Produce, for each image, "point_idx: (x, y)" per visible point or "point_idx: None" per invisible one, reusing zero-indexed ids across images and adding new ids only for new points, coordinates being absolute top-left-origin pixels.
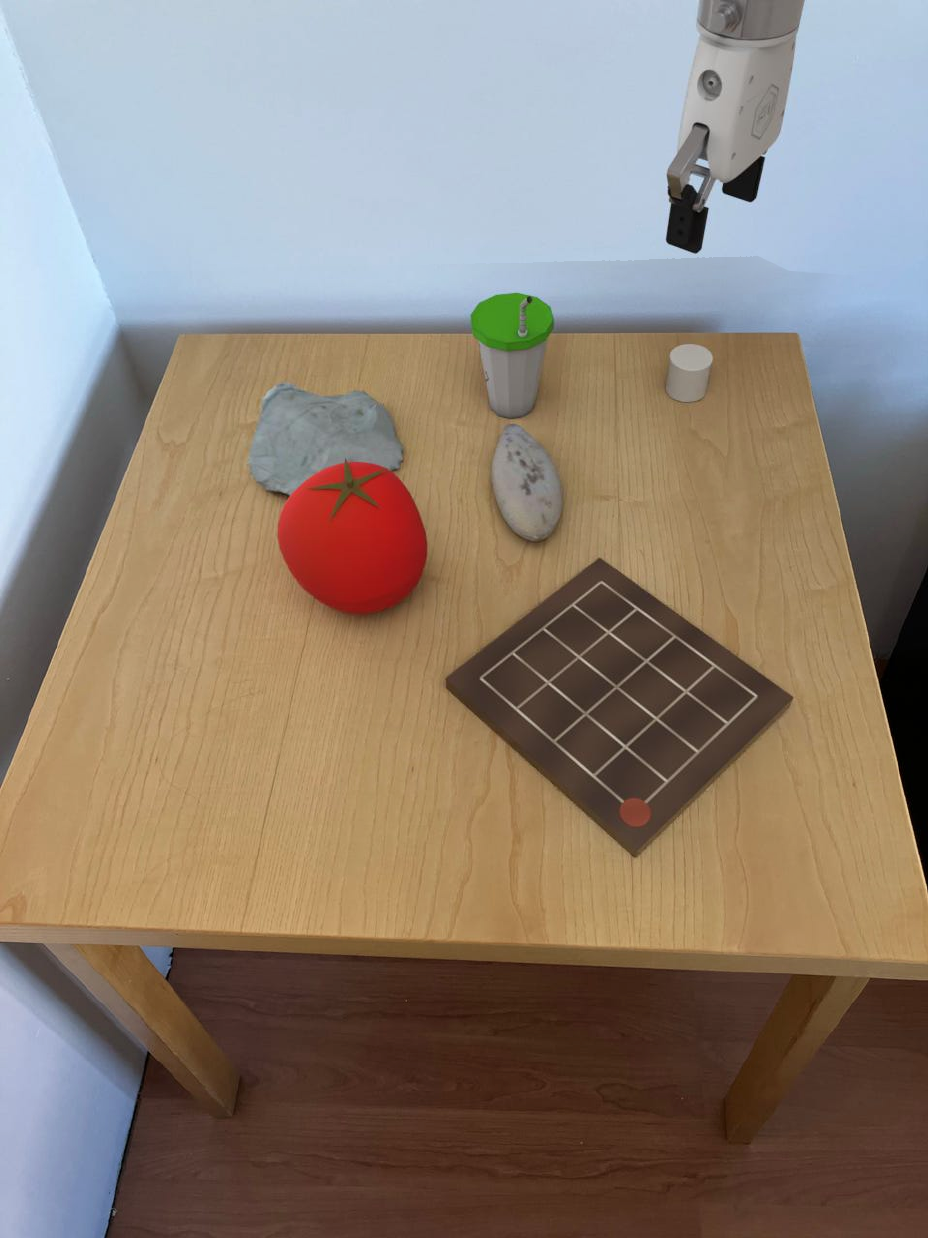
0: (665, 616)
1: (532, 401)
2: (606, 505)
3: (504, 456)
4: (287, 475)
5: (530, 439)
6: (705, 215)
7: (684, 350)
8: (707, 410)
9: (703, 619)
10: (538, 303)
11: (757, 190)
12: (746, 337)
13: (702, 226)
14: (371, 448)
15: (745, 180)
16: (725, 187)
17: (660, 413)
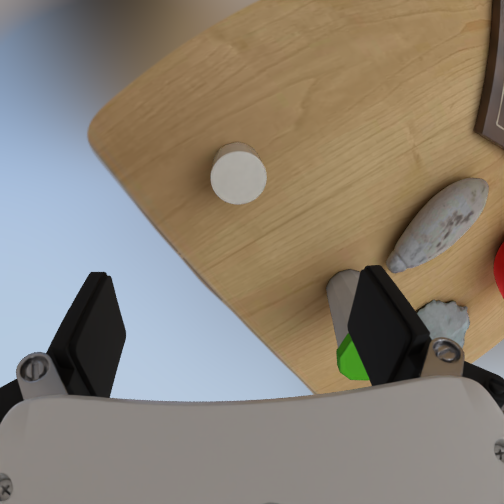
0: (500, 72)
1: (353, 275)
2: (423, 153)
3: (441, 251)
4: (460, 336)
5: (414, 247)
6: (420, 322)
7: (232, 191)
8: (256, 127)
9: (476, 45)
10: (348, 351)
11: (87, 284)
12: (112, 161)
13: (409, 303)
14: (438, 322)
15: (103, 326)
16: (121, 339)
17: (289, 168)
